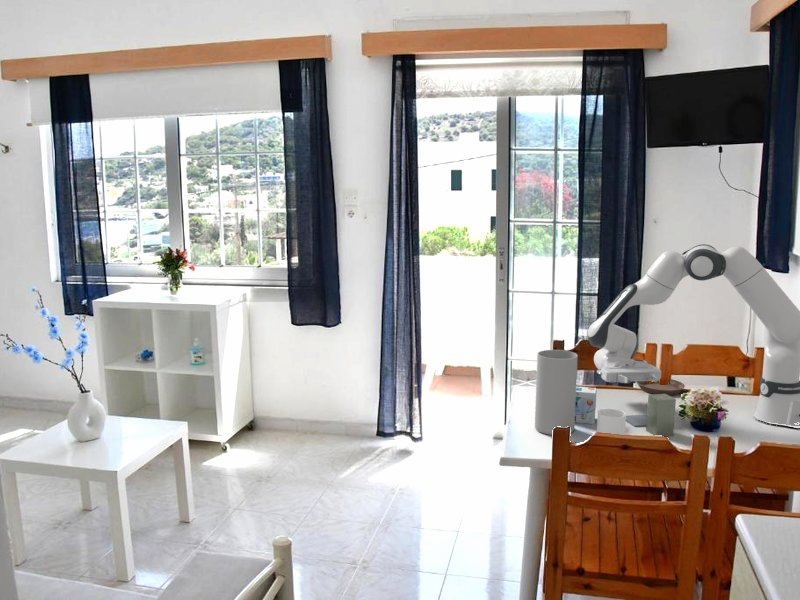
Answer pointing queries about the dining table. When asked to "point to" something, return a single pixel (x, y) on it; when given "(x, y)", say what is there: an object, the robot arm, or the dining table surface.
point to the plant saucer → (662, 387)
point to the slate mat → (637, 420)
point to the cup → (611, 421)
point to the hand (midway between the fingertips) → (641, 380)
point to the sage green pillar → (661, 414)
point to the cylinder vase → (555, 390)
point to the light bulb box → (585, 405)
